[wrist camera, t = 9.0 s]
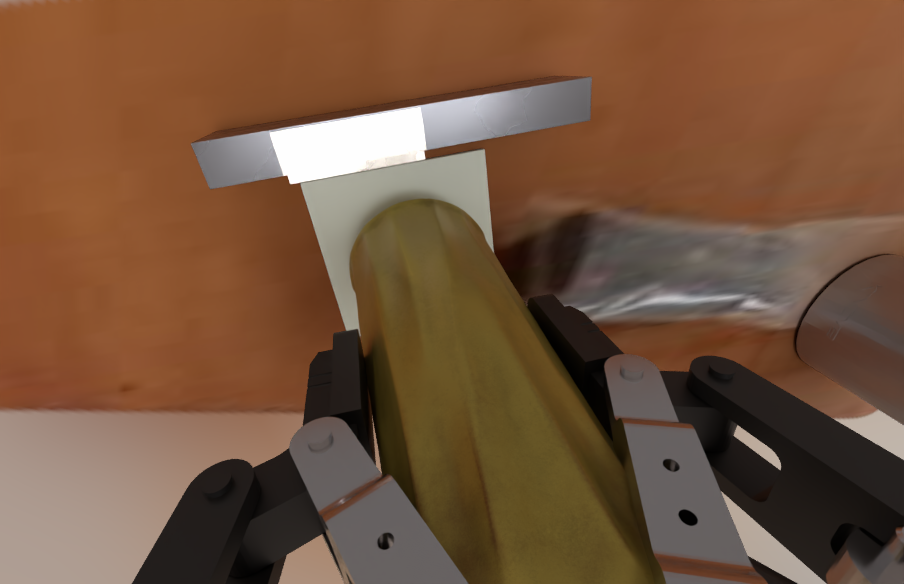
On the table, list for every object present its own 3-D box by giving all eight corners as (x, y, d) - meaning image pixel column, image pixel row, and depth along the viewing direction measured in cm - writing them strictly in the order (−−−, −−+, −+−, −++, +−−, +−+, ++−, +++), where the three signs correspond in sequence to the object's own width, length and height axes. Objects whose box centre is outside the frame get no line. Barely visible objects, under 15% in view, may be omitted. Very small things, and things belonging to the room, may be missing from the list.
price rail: (555, 76, 18) (595, 77, 15) (555, 123, 19) (593, 132, 16) (215, 131, 16) (187, 144, 13) (234, 180, 17) (212, 202, 14)
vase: (392, 168, 16) (552, 557, 4) (512, 235, 19) (812, 583, 7) (325, 292, 18) (304, 786, 6) (442, 336, 21) (580, 734, 9)
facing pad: (482, 148, 18) (484, 149, 18) (496, 300, 22) (498, 303, 22) (300, 181, 17) (300, 183, 17) (348, 335, 21) (348, 338, 21)
